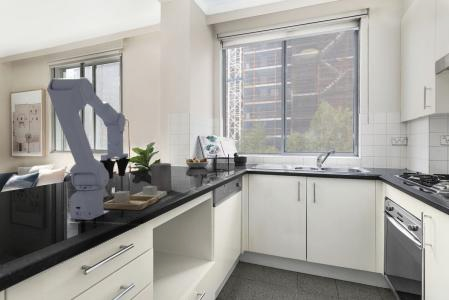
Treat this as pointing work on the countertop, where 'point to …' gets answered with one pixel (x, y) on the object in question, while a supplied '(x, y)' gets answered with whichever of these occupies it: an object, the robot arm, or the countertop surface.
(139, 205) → the wooden tray
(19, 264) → the countertop surface
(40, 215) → the countertop surface
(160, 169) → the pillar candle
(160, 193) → the stoneware dish
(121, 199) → the stone
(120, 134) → the robot arm
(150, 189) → the stone
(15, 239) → the countertop surface
